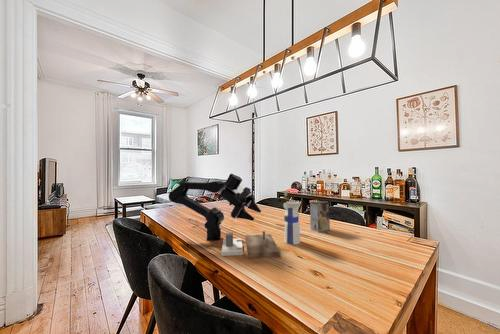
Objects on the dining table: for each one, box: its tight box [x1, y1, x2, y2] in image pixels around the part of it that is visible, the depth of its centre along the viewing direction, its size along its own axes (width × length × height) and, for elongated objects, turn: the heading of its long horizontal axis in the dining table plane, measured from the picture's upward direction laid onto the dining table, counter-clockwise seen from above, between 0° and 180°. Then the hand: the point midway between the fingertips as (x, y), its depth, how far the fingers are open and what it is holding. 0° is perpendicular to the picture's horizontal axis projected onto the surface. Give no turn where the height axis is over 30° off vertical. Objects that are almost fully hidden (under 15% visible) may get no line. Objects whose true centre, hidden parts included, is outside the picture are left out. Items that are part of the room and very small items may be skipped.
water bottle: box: [283, 190, 301, 246], centre depth 105 cm, size 8×9×25 cm
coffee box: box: [309, 200, 331, 233], centre depth 123 cm, size 9×6×16 cm
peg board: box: [244, 230, 281, 259], centre depth 99 cm, size 13×22×6 cm, turn 4°
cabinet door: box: [220, 232, 244, 257], centre depth 98 cm, size 9×16×6 cm, turn 4°
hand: (257, 215), depth 104 cm, fingers open, 9 cm apart
